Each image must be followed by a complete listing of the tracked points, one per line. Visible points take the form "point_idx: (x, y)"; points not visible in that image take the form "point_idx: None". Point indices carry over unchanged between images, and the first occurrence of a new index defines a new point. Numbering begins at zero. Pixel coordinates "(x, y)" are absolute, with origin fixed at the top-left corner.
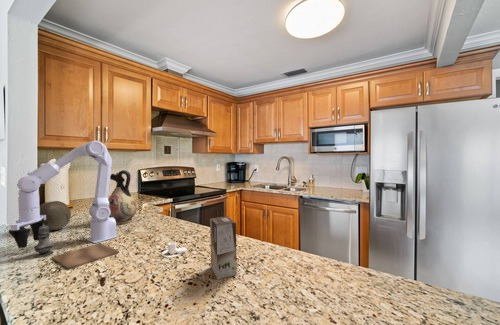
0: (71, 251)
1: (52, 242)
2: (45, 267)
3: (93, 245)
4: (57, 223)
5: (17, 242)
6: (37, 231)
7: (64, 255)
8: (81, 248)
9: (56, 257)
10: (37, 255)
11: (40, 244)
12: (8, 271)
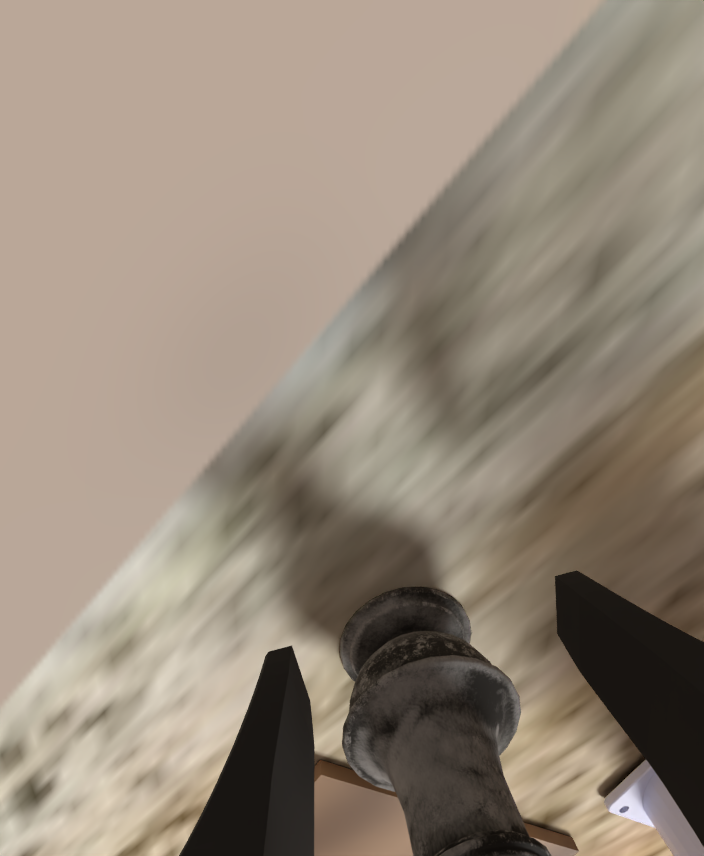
0: None
1: (508, 740)
2: (164, 843)
3: None
4: None
5: (245, 741)
6: (669, 734)
7: (344, 829)
8: None
9: None
10: (356, 643)
11: (387, 771)
12: (50, 687)
